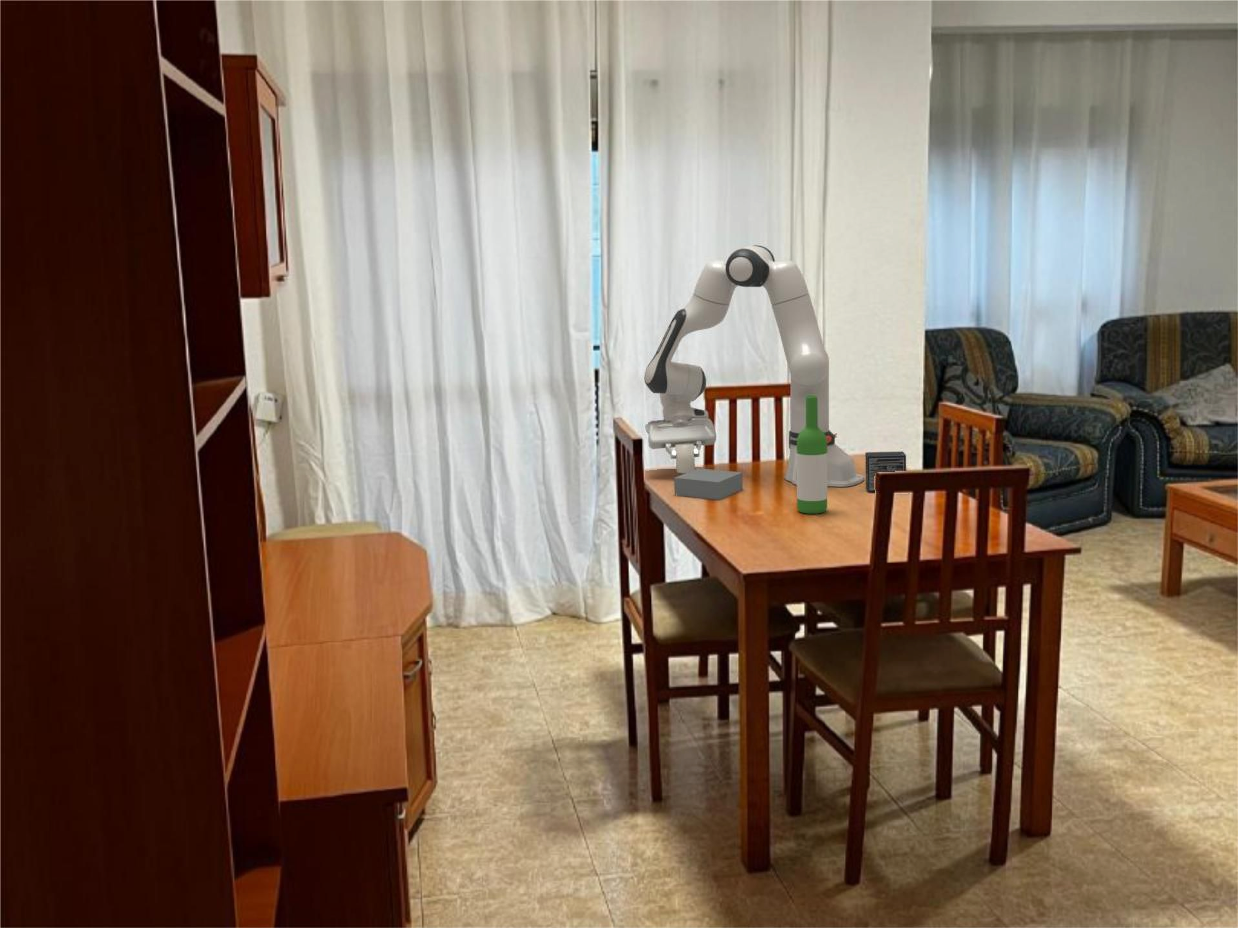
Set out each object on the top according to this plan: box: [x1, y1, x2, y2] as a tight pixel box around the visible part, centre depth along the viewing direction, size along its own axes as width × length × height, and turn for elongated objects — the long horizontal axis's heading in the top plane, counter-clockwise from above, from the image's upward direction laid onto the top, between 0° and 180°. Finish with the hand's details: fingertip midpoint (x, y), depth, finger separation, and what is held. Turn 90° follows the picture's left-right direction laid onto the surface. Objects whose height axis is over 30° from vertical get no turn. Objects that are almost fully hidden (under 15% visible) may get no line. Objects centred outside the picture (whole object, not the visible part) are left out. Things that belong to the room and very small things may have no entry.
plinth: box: [673, 468, 744, 501], centre depth 330 cm, size 14×14×5 cm
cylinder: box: [674, 443, 696, 474], centre depth 347 cm, size 6×6×8 cm
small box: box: [865, 450, 907, 494], centre depth 324 cm, size 11×6×10 cm, turn 84°
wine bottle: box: [796, 396, 828, 515], centre depth 302 cm, size 8×8×30 cm
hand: (685, 456), depth 346 cm, fingers closed on cylinder, 5 cm apart
